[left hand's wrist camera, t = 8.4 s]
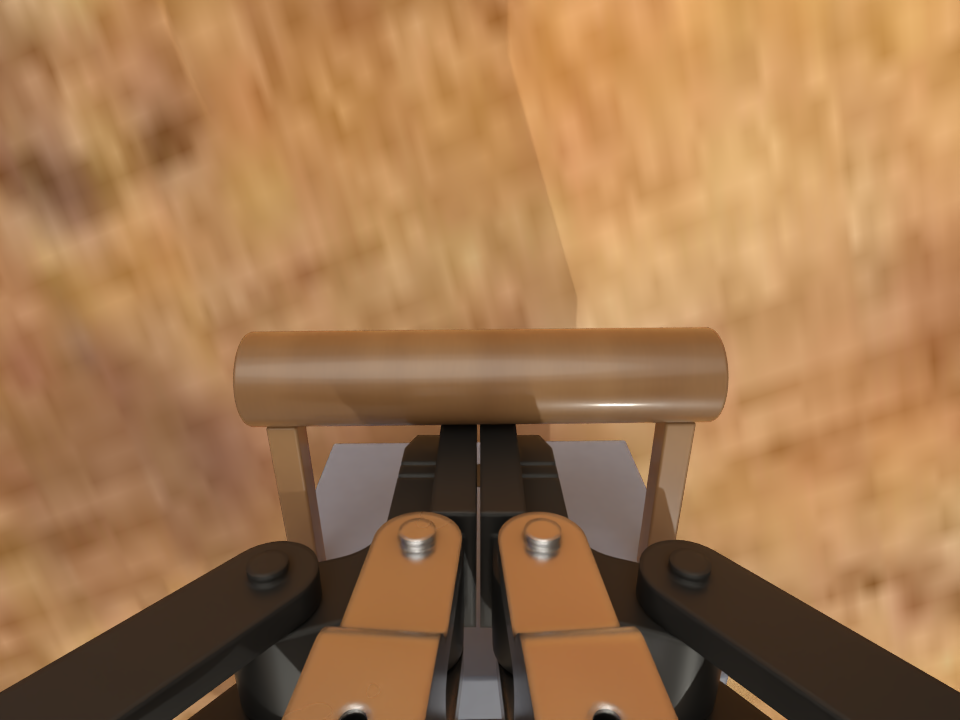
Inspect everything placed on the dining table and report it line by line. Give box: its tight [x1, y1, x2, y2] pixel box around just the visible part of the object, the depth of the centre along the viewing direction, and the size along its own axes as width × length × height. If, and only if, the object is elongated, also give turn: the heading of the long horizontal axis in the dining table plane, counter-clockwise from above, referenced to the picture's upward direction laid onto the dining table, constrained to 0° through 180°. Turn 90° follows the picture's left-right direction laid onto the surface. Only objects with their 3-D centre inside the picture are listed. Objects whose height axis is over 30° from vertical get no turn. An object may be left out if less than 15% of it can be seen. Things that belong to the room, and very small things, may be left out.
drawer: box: [233, 327, 728, 720], centre depth 17 cm, size 25×9×8 cm, turn 0°
